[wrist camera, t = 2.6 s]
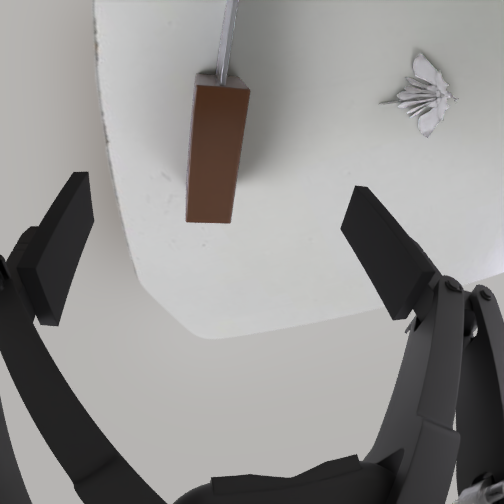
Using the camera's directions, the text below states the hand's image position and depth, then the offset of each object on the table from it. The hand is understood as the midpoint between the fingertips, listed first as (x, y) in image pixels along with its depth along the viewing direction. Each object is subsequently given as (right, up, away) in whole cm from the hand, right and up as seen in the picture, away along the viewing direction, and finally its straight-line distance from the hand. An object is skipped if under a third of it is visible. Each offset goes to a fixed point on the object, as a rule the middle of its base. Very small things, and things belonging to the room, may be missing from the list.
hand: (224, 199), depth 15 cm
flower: (+15, +11, +7) cm, 20 cm away
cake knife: (0, +12, +2) cm, 13 cm away
